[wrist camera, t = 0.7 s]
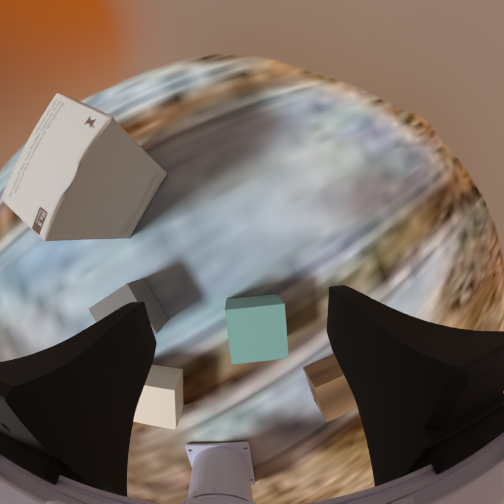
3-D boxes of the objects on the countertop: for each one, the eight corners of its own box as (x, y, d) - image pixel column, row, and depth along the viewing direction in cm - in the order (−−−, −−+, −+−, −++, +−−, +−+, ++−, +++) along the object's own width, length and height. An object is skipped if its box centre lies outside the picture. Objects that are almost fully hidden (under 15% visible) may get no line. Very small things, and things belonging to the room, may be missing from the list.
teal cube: (279, 339, 28) (288, 357, 23) (231, 344, 27) (231, 364, 22) (275, 293, 28) (284, 303, 23) (226, 298, 27) (225, 309, 22)
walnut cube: (352, 382, 28) (369, 402, 23) (314, 399, 28) (326, 422, 23) (343, 349, 28) (361, 366, 23) (302, 367, 28) (315, 387, 23)
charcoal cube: (169, 319, 27) (156, 333, 22) (133, 339, 27) (116, 355, 22) (144, 277, 27) (127, 283, 22) (110, 299, 26) (88, 308, 21)
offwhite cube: (183, 405, 27) (176, 429, 22) (142, 398, 27) (129, 420, 22) (183, 368, 27) (174, 390, 22) (140, 362, 27) (124, 381, 22)
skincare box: (129, 151, 26) (58, 84, 11) (171, 175, 27) (116, 109, 12) (90, 216, 26) (-5, 196, 11) (130, 244, 26) (40, 242, 12)
